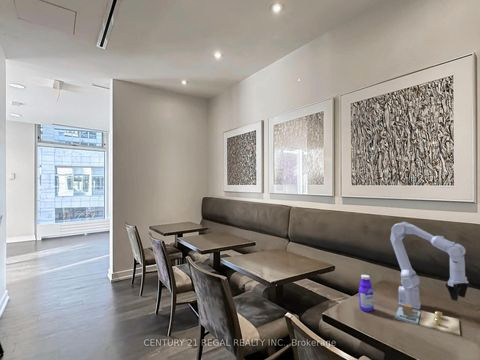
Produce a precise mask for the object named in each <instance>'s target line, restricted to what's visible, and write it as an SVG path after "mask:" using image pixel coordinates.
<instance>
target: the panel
mask: <svg viewBox="0 0 480 360" xmlns="http://www.w3.org/2000/svg"><path fill="white" fill-rule="evenodd" d="M413 309H414V308H412V305H410V304H406V303H404V304H403V305H402V307H400V306H399V307H398V309H397V311H396V314H395V316H394V319H395V320H398V321H401V322H404V323H405V322H406V323H409V324H412V325H416V326H417V325H418V326H419V322H420V317H421V311H417V310H413Z"/></svg>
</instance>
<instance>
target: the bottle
mask: <svg viewBox="0 0 480 360" xmlns="http://www.w3.org/2000/svg"><path fill="white" fill-rule="evenodd" d="M360 277H361V278H360V282H359V289H358V298H359V299H358V300H359V301H358V302H359V303H358V304H359V305H358V306H359V309H360V310H361V311H364V312H371V311H373V310H374V304H375V303H374V302H375V301H374V289H373V287H372V282H371V276H370V275H368V274H361V275H360Z"/></svg>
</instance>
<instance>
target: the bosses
mask: <svg viewBox="0 0 480 360" xmlns="http://www.w3.org/2000/svg"><path fill="white" fill-rule="evenodd" d="M434 314H436V315H437V318H436V317H435V318H434V320H435V321H436V325H439V326H440V322H442V319H440V315H443V312H442V311H439V310H435V311H434Z"/></svg>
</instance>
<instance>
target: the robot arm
mask: <svg viewBox="0 0 480 360" xmlns="http://www.w3.org/2000/svg"><path fill="white" fill-rule="evenodd" d="M390 230H391V232H390V237H389V238H390V242H391V246H392V248H393V251H394V253H395V257H396V259H397V262H398V265H399V268H400V270H401V272H400V278H401V280H400V283H401V285H399V286H398V305H399V306H403V304H404V303H406V304H410V305H412V309H416V310H420V309H421V305H422V304H421V302H420V288H419V285H420V284H421V279H420V277H419V276H418V274H417V273H416V271H415V270H414V269H413V268H412V265H411V261H410V260H409V256H408V254H407V250H406V247H405V245H404V243H403V239H404V238H405V237H406V236H407V235H416V236H417V237H420V238H422V239H424V240H426V241H428V242H430V243H431V246H433V247H435V248H437V249H439V250H441V251H442V252H445V253H447V254H448V255H449V279H448V280H447V283H445V287H446V289H447V291H448V292H449V296H450V298H451V300H452V301H454V302H457V301H458V299H459V297H460V298H465V297H466V294H467V291H468V288H469V286H471V283H470V282H469V281H468V277H467V276H466V262H465V254H466V252H467V251H466V248H465V246H463V245H462V244H460V243H456V242H455V241H450V240H449V239H446V238H445V236H443V235H435V236H434V235H433V234H431V233H429V232H427V231H425V230H423V229H421V228H420V227H418V226H416V225H414V224H412V223H409V222H407V221H402V222H399V223H398V222H397V223H395V224H394V225H393V226H392V227H391V229H390Z"/></svg>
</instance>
